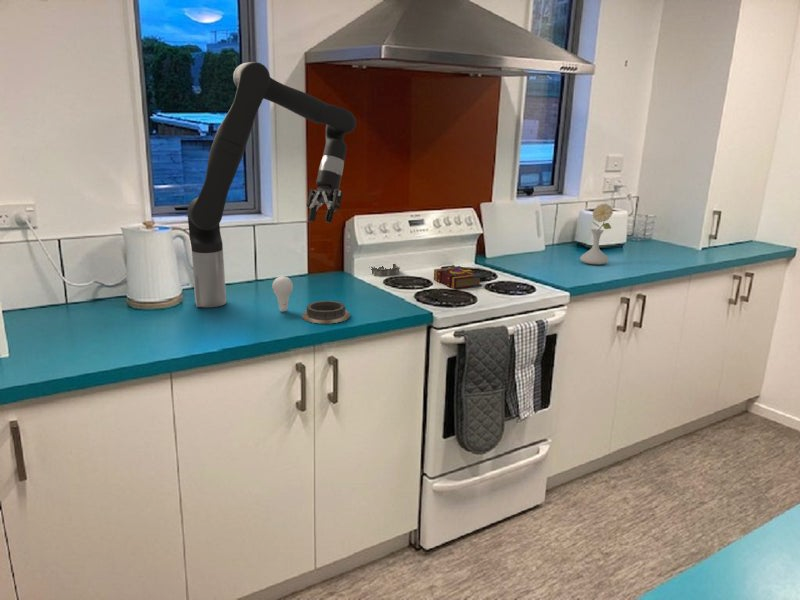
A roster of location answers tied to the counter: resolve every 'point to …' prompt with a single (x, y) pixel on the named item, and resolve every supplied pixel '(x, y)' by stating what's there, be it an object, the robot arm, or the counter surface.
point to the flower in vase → (598, 236)
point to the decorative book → (457, 277)
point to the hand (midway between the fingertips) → (319, 221)
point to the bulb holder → (326, 312)
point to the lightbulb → (282, 291)
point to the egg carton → (385, 271)
